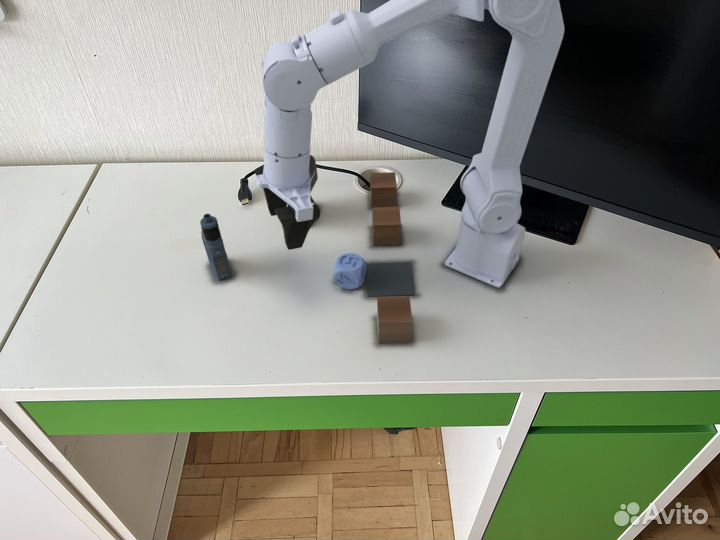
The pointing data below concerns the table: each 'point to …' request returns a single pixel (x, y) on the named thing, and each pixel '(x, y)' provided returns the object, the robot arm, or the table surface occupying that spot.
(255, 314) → the table surface
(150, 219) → the table surface
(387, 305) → the block near
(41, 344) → the table surface
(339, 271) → the decorative dice
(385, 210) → the block mid
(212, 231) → the vaping device
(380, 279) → the pad
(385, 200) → the block far
